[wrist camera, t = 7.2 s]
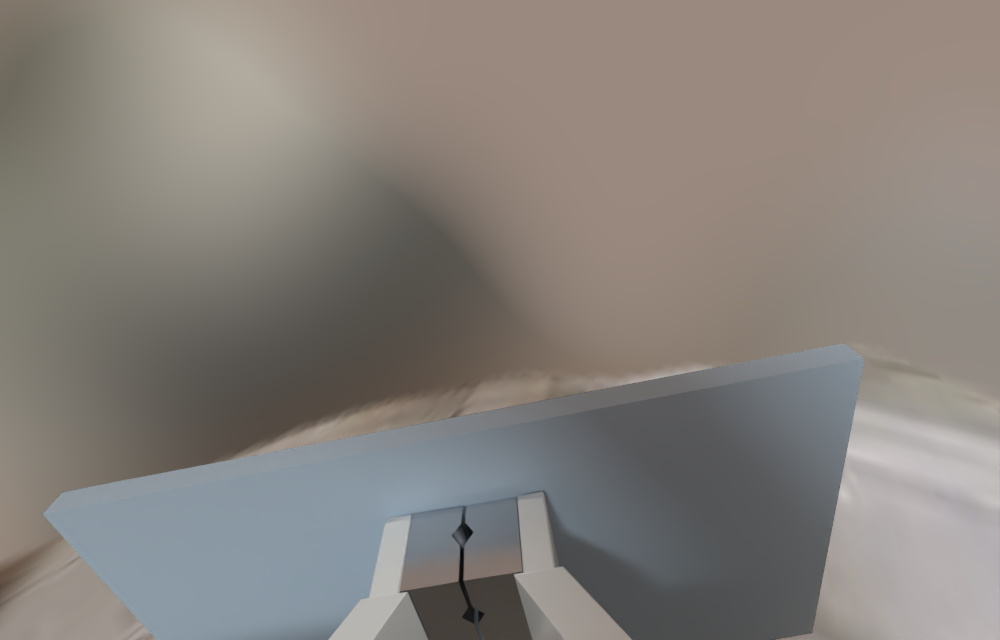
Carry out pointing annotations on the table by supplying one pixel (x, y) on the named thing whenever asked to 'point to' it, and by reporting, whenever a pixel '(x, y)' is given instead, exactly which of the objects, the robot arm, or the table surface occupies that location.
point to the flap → (503, 474)
